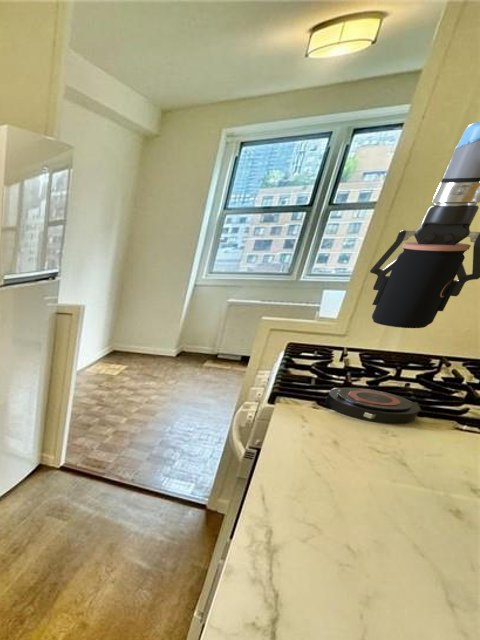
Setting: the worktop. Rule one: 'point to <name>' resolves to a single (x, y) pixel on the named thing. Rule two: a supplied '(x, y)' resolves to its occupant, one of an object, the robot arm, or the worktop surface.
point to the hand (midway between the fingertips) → (406, 307)
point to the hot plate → (372, 405)
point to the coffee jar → (418, 284)
